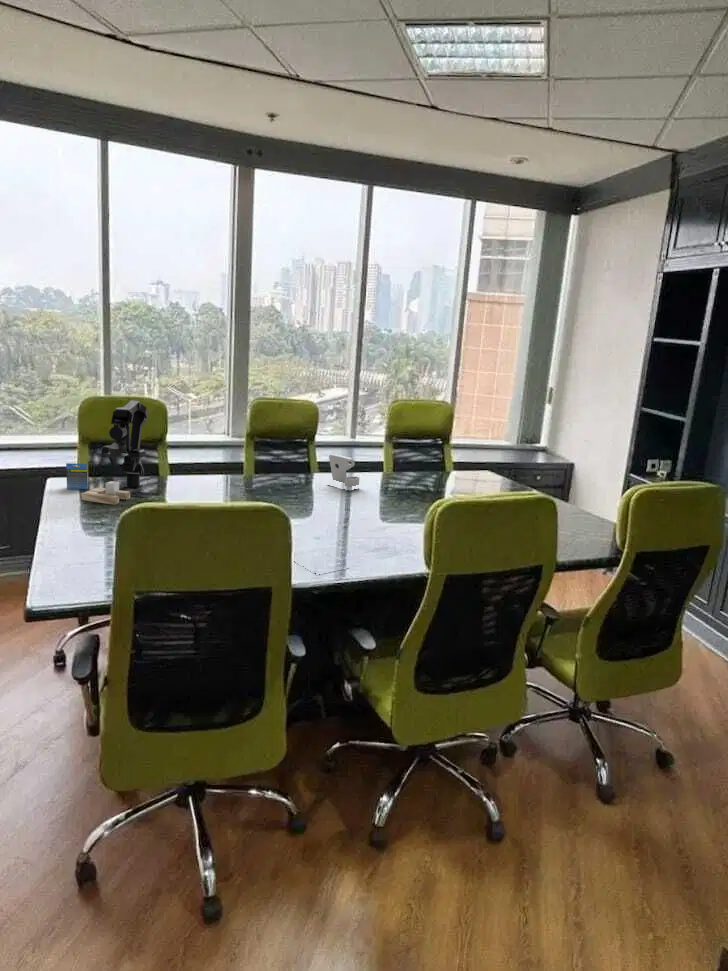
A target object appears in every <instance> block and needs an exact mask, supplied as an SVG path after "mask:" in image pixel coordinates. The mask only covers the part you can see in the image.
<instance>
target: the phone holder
mask: <svg viewBox="0 0 728 971" xmlns="http://www.w3.org/2000/svg"><path fill="white" fill-rule="evenodd" d="M328 459H329V465H330V469H331V470H330V471H331V472H330V473H331V476H332V481H333V480H336V481H339V482H343V483H345V486H347V487H352V486H356V485H359V486H360V477H359V476H350V477H349V476H348V475H347V471H349V470H350V469H351V468H353V467H354V466H355V464H356V463H355V460H354V459H353V458H352V457H349V456H344V455H340V454H336V453H331V454H330V455H329V456H328ZM336 465H338V468H337V466H336Z"/></svg>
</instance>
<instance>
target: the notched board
mask: <svg viewBox="0 0 728 971" xmlns="http://www.w3.org/2000/svg"><path fill="white" fill-rule="evenodd" d="M125 499H126V500H129V499H131V491H128V490H120V489H119V496H112V495H106V487H95V488H93V489H90V490H86V491H85V492H81V500H82V501H86V502H94V503H101V504H107V505H118V504H120V500H125Z"/></svg>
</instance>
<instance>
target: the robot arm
mask: <svg viewBox="0 0 728 971" xmlns="http://www.w3.org/2000/svg"><path fill="white" fill-rule="evenodd" d="M148 419H149V410H148V408H147V407H146V406H145V405H143V404H142V402H141V401H139V400H133V399H132V400H129V401H128V403H127V404H125V405H124V406H121V407H115V409H114V410H113V412H112V417H111V422H110V424H112V425H113V427H111V428H110V429H109V431H108V433H109V436H110V437H111V439H113V440H114V442H113V443H112V444H110V445H108V444H107V445H103V446H101V449H100V450H101V451H100V453H101V454H103V455H104V456H106V457H108V459H109V462H110V464H111V466H112V469H114V470H115V469H116V467H117V466H116V465H117V456H120V455H121V454H125V456H124V457H123V462H122V465H121V469H122V476H126V485H124V486H123V487H124V488H126V487H127V489H136V490H137V489H138V488H139V489H140V488H142V487H144V486H143V484H141V476H144V475H145V469H144V466H143V464H142V460H141V458H143V457H146V451H145V449H143V448H141V441H142V439H141V438H142V431H143V430H142V429H143V427H144V425H146V423H147V420H148ZM130 425H131V426H130Z"/></svg>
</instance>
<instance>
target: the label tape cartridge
mask: <svg viewBox="0 0 728 971" xmlns="http://www.w3.org/2000/svg"><path fill="white" fill-rule="evenodd" d="M65 464H66V467H65V468H66V469H65V471H66V474H65V476H66V490H88V488H89V470H88V467H87V466H88V465H87V464H88V463H75V462H74V463H65Z"/></svg>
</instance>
